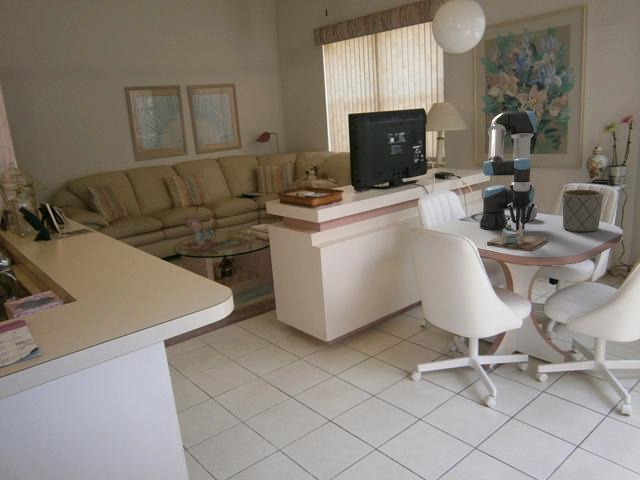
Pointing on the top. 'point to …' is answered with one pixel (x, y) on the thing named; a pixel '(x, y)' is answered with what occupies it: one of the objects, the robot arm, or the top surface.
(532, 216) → the teacup
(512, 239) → the latch bar
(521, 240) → the pivot board
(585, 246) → the top surface
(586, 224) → the planter
